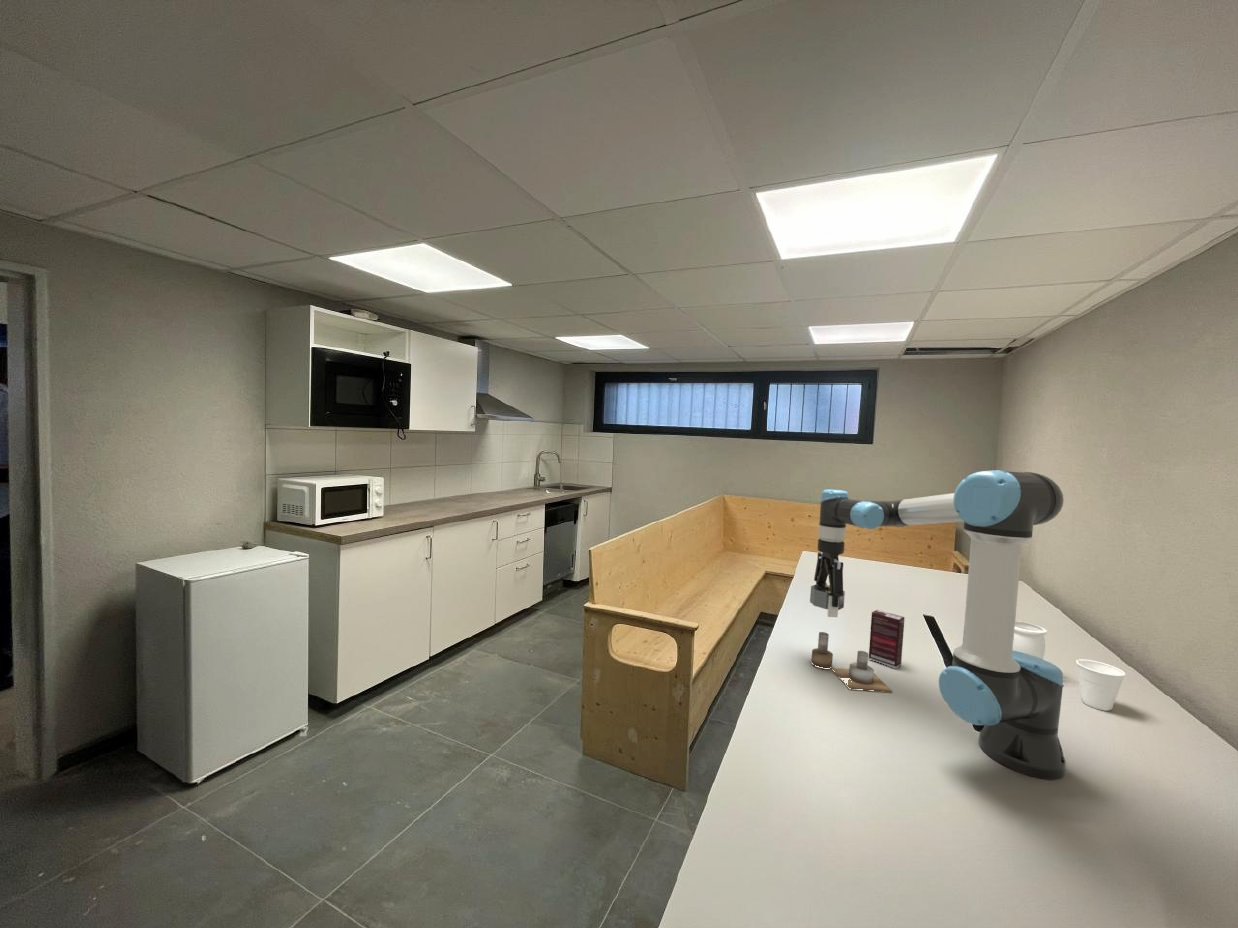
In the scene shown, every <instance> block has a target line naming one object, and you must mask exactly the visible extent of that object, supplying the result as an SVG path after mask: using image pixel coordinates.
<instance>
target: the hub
mask: <svg viewBox="0 0 1238 928" xmlns="http://www.w3.org/2000/svg"><path fill="white" fill-rule="evenodd" d="M856 655H857V656H856V662H851V663H850V664H849V668H835V667H832V668H831V670H832V669H833V670H834V671H835V673H836V674H837V675H838V676H839V677H840V678H850V679H851V680H850V679H849V680H848V685H847V683H846V685H847V686H848V687H849V688H851V689H863V690H874V691H884V692H883V693H886V692H892V693H893V689H891V688H890V687H889V686H888V685H887V684H886V683H885V682H884V681H883V680H882V679H881V678H880V677H879V676H877V674H876V673H875V670H874V668H873V667H872V666H870V665H868V663H869V652H867V651H864V650H858V651H857V654H856ZM835 673H834V674H835ZM836 674H835V675H836ZM837 675H836V676H837ZM843 681H844V680H843ZM851 681H852V682H851Z"/></svg>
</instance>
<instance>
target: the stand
mask: <svg viewBox="0 0 1238 928" xmlns="http://www.w3.org/2000/svg"><path fill="white" fill-rule="evenodd" d="M818 632H819V631H818ZM817 644H818V645H817V647H816V648H813V649H812V650H811V661H810V663H811V662H812V663H813V664H814V665H816V666H819V667H823V668H830V667H832V668H833V657H834V656H833V653H832V651H830V650H828V648H829V633H827V632H825V631H820V632H819V633H818V641H817Z"/></svg>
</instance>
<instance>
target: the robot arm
mask: <svg viewBox="0 0 1238 928" xmlns="http://www.w3.org/2000/svg"><path fill="white" fill-rule="evenodd" d="M954 491H955V492H953V493H944V494H936V495H931V496H930V495H928V496H921V497H913V498H905V499H898V500H885V501H884V500H858V499H851V498H849V492H848V491H847V490H846V491H845V490H841V489H824V490H822V492H821V498H820V503H819V504H820V508H819V509H820V510H819V511H820V512H819V522H818V523H819V524H818V534H817V535H818V536H817V537H818V539H817V540H818V541H817V550H818V552H817V559H816V567H815V572H814V578H813V580H814V582H815V585H816V584H819V585H828V584H827V579H828V583H829V585H830V593H831V594H828V595H829V602H828V609H827V617H828V618H838V615H839V610H838V605H839V596H843V591H844V576H843V575H844V563H843V562H841V561H839V556H840V555H843V554H844V553H845V542H844V540H846V539H845V538H846V533H847V529H846V528H847V527H846V526H847V525H849V526H850V525H851V526H853V527H857V528H859V529H868V530H875V529H877V528H878V527H894V528H895V527H897V528H899V527H900V528H902V527H903V528H904V527H909V526H919V525H932V524H934V525H935V524H949V523H963V531H964V533H965V534H967V535H968V536H969V538H970V539H971V540H970V547H969V548H970V549H969V561H968V571H967V572H968V573H967V574H968V575H967V586H966V587H967V588H966V598H965V610H964V623H963V624H964V625H963V633H962V634H963V635H962V636H963V637H962V644H961V645H960V646H957V647H956V648H954V649H953V653H952V665H949V666H947V667H946V668H944V669H943V670H942V671H941V672H940V674H939V677H938V688H939V692H940V694H941V697H942V698H943V701H944V702H946V704H947V706H948V708H949V709H950V711H952V712H953V713H954V714H955V715H956V716H957V718H959V719H961V720H962V721H965V722H966V723H969V724H971V725H975V726H983V728H981V730H980V731H979V735H978V746H979V747H980V748H981V750H982V751H983V752H984V753H985V754H986V755H987V756H988V757H990V758H991V759H993V761H996V762H997V763H999V764H1001V765H1003V766H1005V767H1007V768H1008V769H1011V770H1013V771H1016V772H1018V773H1021V774H1023V773H1024V775H1026V774H1027V776H1031V777H1034V778H1038V779H1044V780H1045V779H1046V780H1058V779H1062V778H1063V777H1064V776H1065V775H1066V767H1067V763H1066V759H1065V757H1064V753H1063V749H1062V745H1061V741H1060V739H1059V738H1060V737H1059V723H1060V715H1061V706H1062V699H1063V698H1062V697H1063V688H1064V681H1063V680H1064V674H1063V671H1062V670H1061V668H1059V667H1058V666H1057V665H1055V664H1054V663H1052V662H1050V661H1047V660H1046V659H1040V658H1038V657H1035V656H1032V655H1029V654H1025V653H1022V652H1018V651H1013V641H1014V629H1015V621H1016V616H1017V605H1018V594H1019V580H1020V571H1021V570H1020V569H1021V557H1022V547H1023V545H1024V544H1026V543H1027V542H1029V541H1031V539H1033V530H1034V526H1037V525H1042V524H1045V523H1048V522H1050V521H1052V520H1053V519H1055V518H1056V517H1057V516H1058V515H1059V514H1060V512H1061V510H1062V508H1063V505H1064V500H1065V499H1064V494H1063V491H1062V490H1061V487H1060V486H1059V485H1058V484H1057V483H1056V482H1055V481H1054V480H1053V479H1051V478H1049V477H1048V476H1046V475H1044V474H1040V473H1037V472H1029V471H1028V472H1027V471H1024V472H1023V471H1008V470H999V469H996V470H993V469H992V470H991V469H990V470H982V471H976V472H974V473H971V474H969V475H968V476H966V477H965V478H964V479H962V480H961V481H960V482H959V484H958V485H957V487H956V489H955V490H954ZM1061 777H1062V778H1061Z"/></svg>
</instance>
